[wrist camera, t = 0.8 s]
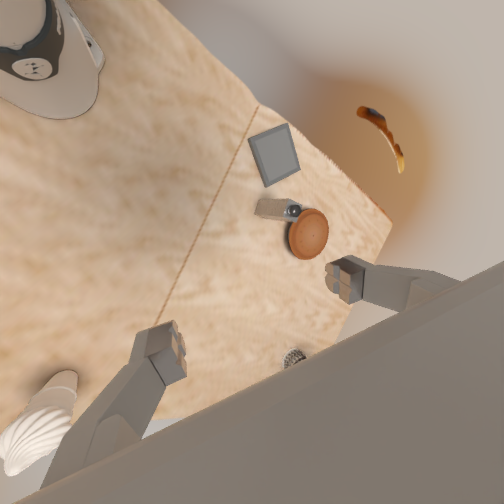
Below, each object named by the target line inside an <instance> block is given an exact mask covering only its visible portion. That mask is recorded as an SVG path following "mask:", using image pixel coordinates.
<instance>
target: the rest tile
mask: <svg viewBox="0 0 504 504" xmlns="http://www.w3.org/2000/svg"><path fill="white" fill-rule="evenodd" d="M248 142H249V145H250V148H251V150H252V153H253V156H254V159H255V161H256V164H257V167H258V170H259V173H260V175H261V178H262V181H263V184H264V186H265V187H268V186H270V185H272V184H274V183H276V182H278V181H280V180H282V179H284V178H286V177H288V176H290V175H292V174H293V173H295V172H297V171H299V170H301V169H300V165H299V161H298V158H297V154H296V151H295V147H294V143H293V140H292V136H291V132H290V129H289V125H288V123H286V124H283V125H281V126H278V127H276V128H273V129H271V130H268V131H266V132H264V133H261V134H259V135H256V136H254V137H251V138H249V139H248Z"/></svg>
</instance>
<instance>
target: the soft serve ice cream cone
mask: <svg viewBox="0 0 504 504" xmlns="http://www.w3.org/2000/svg"><path fill="white" fill-rule="evenodd" d="M77 381H78V375H77V373H76V372H74V371H71V370H65V371H61V372H59V373H57V374H55V375H54V376H53V377H52V378H51V379H50V380H49V381H48V382H47V383H46V385H45V386H44V387H43V388H42V389H41V390H40V391H39V392H38V393H37V394H36V395H34V396H33V397H32V398H31V400H30V401H29V403H28V405H27V406H26V408H25V409H24V411H22V412H21V413H20V414H19V415H18V417H17V418H16V419H15V420H14V421H12V422H11V423H10V424H9V425H8V426H7V427H6V428H5V430H4V431H3V432H2V434H1V436H0V457H1V458H2V459H3V460H5V461H4V472H5V473H6V474H7V475H8V476H15V475H16V474H18V473H20V472H21V471H22V470H24V469H26V468H28V467H29V466H30V465H31V464H32V463H33V462H34V461H36V460H37V459H39V458H40V457H42V456H46V455H48V454H50V452H51V451H52V450H53V449H55V448H58V447H59V445H60V442H61V440H62V438H63V436H64V435H65V434H66V433H67V432H68V430H69V429H70V428H71V427H72V424H71V423H70V420H71V418H72V415H73V407H74V404H75V402H76V399H77V394H76V390H77Z"/></svg>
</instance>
